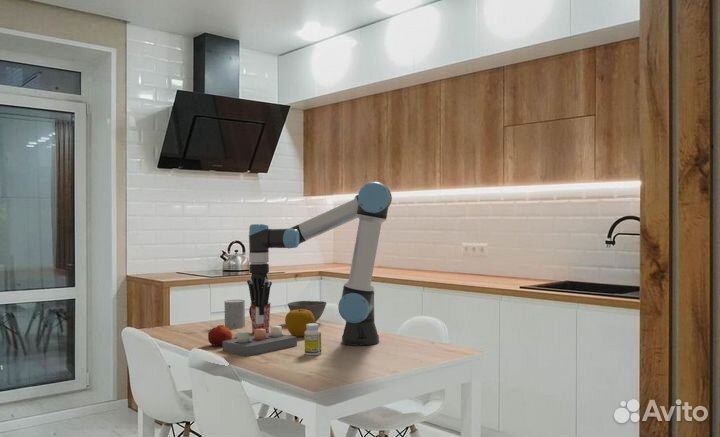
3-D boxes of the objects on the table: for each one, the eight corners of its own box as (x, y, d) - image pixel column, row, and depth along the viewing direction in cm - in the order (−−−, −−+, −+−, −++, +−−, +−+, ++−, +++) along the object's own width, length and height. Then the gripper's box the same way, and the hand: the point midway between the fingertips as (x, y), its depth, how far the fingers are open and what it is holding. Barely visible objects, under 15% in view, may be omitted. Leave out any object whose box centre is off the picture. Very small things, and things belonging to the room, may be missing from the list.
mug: (275, 333, 268) (274, 302, 269) (257, 335, 263) (257, 304, 263) (260, 329, 278) (259, 300, 278) (242, 332, 272) (242, 302, 272)
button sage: (251, 342, 232) (251, 332, 232) (242, 344, 228) (241, 334, 228) (244, 341, 235) (244, 331, 235) (235, 343, 231) (235, 332, 231)
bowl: (334, 321, 296) (334, 301, 296) (311, 328, 280) (311, 306, 280) (303, 319, 306) (303, 299, 306) (279, 324, 290) (279, 304, 290)
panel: (296, 345, 241) (296, 336, 241) (247, 356, 223) (247, 346, 223) (271, 340, 252) (271, 332, 252) (222, 350, 234) (222, 341, 234)
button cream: (283, 336, 243) (283, 326, 243) (275, 338, 240) (275, 328, 240) (276, 335, 246) (276, 325, 246) (268, 336, 243) (268, 326, 243)
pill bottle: (312, 351, 230) (312, 322, 230) (324, 353, 226) (324, 323, 226) (301, 354, 225) (300, 324, 225) (313, 356, 221) (312, 326, 221)
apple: (280, 338, 257) (280, 311, 257) (291, 332, 270) (291, 306, 270) (309, 339, 254) (309, 311, 254) (319, 333, 267) (318, 307, 267)
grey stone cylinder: (220, 328, 283) (220, 302, 283) (230, 324, 292) (230, 299, 292) (239, 329, 280) (238, 302, 280) (248, 325, 289) (248, 299, 289)
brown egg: (268, 339, 237) (268, 329, 237) (259, 341, 234) (258, 331, 234) (261, 338, 240) (261, 328, 240) (252, 339, 237) (252, 329, 237)
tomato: (236, 343, 247) (235, 323, 247) (225, 348, 238) (224, 327, 238) (215, 342, 249) (215, 323, 249) (204, 347, 241) (203, 327, 241)
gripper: (277, 263, 236) (277, 323, 236) (256, 262, 245) (257, 320, 245) (261, 264, 230) (262, 326, 230) (241, 263, 239) (241, 322, 239)
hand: (259, 323), depth 237 cm, fingers closed
